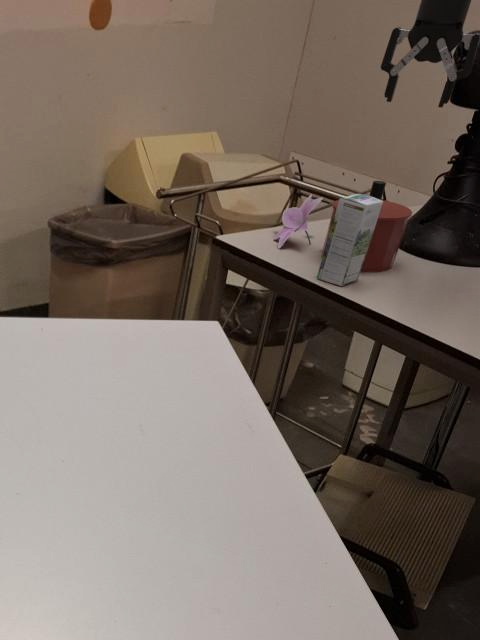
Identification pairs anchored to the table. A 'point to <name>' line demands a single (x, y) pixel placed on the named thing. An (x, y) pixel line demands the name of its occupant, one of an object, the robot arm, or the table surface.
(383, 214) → the pot lid
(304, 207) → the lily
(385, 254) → the pot
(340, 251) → the syrup box
